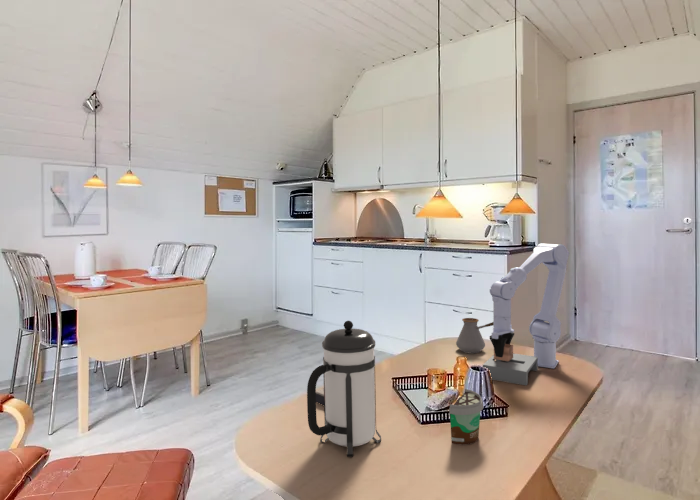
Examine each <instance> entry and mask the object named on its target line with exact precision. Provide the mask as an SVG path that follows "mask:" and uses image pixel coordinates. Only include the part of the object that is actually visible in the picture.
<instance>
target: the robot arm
mask: <svg viewBox="0 0 700 500" xmlns="http://www.w3.org/2000/svg"><path fill="white" fill-rule="evenodd" d="M532 251H533V252H532V253H531V254H530V255H529V256H528V258H527V259H525V261H524V262H523V263H522V264H521V265H520V266H519V267H511V268H510V269H509V272H507V273H506V275H505V276H503V277H502V278H501V279H500V280H497V281H494V282H493V283H492V284H491V286H490V289H489V293H490V295H491V298H492V301H493V311H492V313H493V316H492V317H493V318H492V319H493V320H492V322H493V327H492V332H491V335H490V336H489V340H490V342H491V344H492V346H493V347H492V348H493V352H494V351H495V355H496V357H503V352H504V346H505V344H510V345H511V343H512V341H513V340H512V339H513V338H514V337H515V329H513V327H512V326H513V325H512V298H514V297H515V295H516V291H517V289H518V288H519V287H520V286H521V285H522V284H523V283H524V282H525V281H526V280H527V279H528V278H527V277H528V274H529V273H531V272H532V271H534V269H536V268H537V267H538V266H539V265H540V264H541V263H542V264H543V265H544V266H545V267H546V268H547V269H548V274H547V279H546V283H545V289H544V293H543V296H542V297H543V298H542V301H541V306H540V311H539V312H538V313H536V314H535V315H533V318H532V321H531V322H530V324H529V326H528V327H529V328H528V331H529V333H530V335H531V337H532V340H533V356H535V357H538V367H541V368H547V369H548V368H549V369H555V368H556V367H557V365H558V364H559V360H558V359H557V355H556V354H557V345H556V343H558V340H559V339H560V338H561V335H562V331H561V325H562V322H561V320H560V319H559V318H558V316H557V313H558V309H559V304H560V300H561V295H562V291H563V286H564V283H565V279H566V278H565V277H566V275H567V274H566V272H567V269H568V268H567V265H568V260H569V255H570V252H569V250H568V248H567V246H566V245H565V244H562V243H561V244H560V243H559V244H556V243H555V244H554V243H543V242H542V243H539V244H538V245H536V246H535V247H534V248H533V250H532Z"/></svg>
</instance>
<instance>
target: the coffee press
mask: <svg viewBox="0 0 700 500" xmlns="http://www.w3.org/2000/svg"><path fill="white" fill-rule="evenodd" d="M343 327H344V328H339V329H335V330H332V331H330V332H329V333H327V334H326V336H325V337H324V340H323V341H322V343H321V346H322V349H323V359H322V361H323V362H322V363H323V364H322V365H319V366H317V367H316V368H314V370H312V372H311V374H310V376H309V378H308V382H307V389H306V390H307V391H306V401H307V402H306V403H307V404H306V406H307V423H308V428H309V430H310V431H311V432H312V433H313V434H314V435H316V436H320V439H319V441H320V443H321V442H322V440H323V439H322V438H323V437H324V436H325V435H326V436H327V438H326V439H325V442H326V443H327V442H328V441H330V442H331V443H333V444H335V445H338V446H340V447H341V446H342V447H346V456H347V458H352V457H353V456H354V447H358V446H362V445H365V444H367V443H369V442H370V441H372V440H373V442H375V443H376V444H381V442H382V436H381V435H380V433H379V432H378V430H377V429H376V426H377V401H376V400H377V398H376V393H377V392H376V387H375V370H376V356H375V347H376V340H375V339H374V337H373V335H372V334H371V333H369V332H368V331H366V330H363V329H360V328H353V327H354V323H353V322H352V321H351V320H346V321H344V323H343ZM322 375H323V388H324V406H323V408H324V409H323V411H324V412H323V413H324V414H323V415H324V425H323V426H319V424H318V422H317V421H318V420H317V403H316V391H317V389H316V388H317V383H318V380H319V378H320V377H322ZM375 434H376V435H377V436H378V437H379V439H377V438H375V437H374V436H375Z"/></svg>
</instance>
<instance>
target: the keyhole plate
mask: <svg viewBox="0 0 700 500" xmlns="http://www.w3.org/2000/svg"><path fill="white" fill-rule="evenodd" d="M483 367H486V368H488V369H489V370H490V373H491V377H492V379H491V381H493V380H494V381H497V382H498V381H499V382H503V383H508V384H515V385H521V386H528V385H529V384H528V383H529V382H528V380H529V377H528V376H529V372H530V371H535V372H537V371H538V370H539V368H538V367H539V366H538V357H535V356H534V355H527V354H521V353H514V352H513V358H512V359H511V360H510V361H506V362H501V360H497V359H494V354H493V355H491V356H490V358H488V359H487V360H486V361H485V362H484V363H483V364H482V368H483Z"/></svg>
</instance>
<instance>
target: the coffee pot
mask: <svg viewBox="0 0 700 500" xmlns="http://www.w3.org/2000/svg"><path fill="white" fill-rule="evenodd" d="M462 321H463V325H462V328H461V329H460V333H459V335H458V337H457V339H456V342H455V345H456V347H457V348H458V349H459V350H460V351H461V352H462V353H466V354H479V353H481V352H482V350H483V349H484V348H485V347H486V343H485V341H484V337H483V336H482V333H481V332H480V331H481V330H480V329H484V328H487V327H491V326H493V321H492V322H489V323H485V324H483V325H480V326H478V322H479V319H478V318H473V317H464V318H462Z"/></svg>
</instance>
